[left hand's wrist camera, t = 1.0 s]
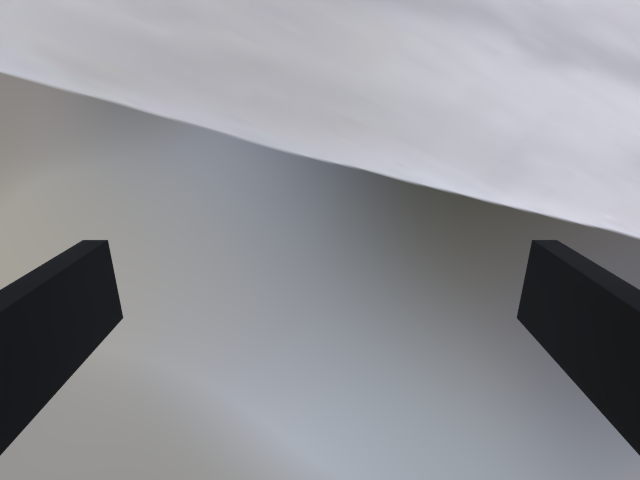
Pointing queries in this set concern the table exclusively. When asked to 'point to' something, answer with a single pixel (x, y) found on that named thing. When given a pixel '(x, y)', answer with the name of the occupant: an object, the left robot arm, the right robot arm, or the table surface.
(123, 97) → the table surface
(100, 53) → the table surface
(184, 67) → the table surface
